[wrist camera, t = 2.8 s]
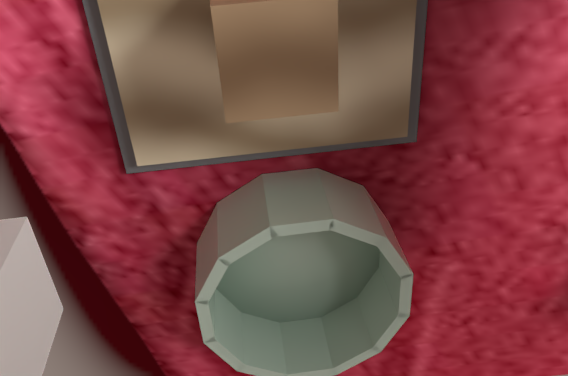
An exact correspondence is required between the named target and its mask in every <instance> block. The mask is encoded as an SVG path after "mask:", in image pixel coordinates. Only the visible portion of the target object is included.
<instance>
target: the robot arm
mask: <svg viewBox="0 0 568 376" xmlns="http://www.w3.org/2000/svg"><path fill="white" fill-rule="evenodd" d="M62 312H63V306H62V304H61V301H60V298H59V296H58V293H57V291H56V288H55V286H54V283H53V281H52V278H51V276H50V273H49V271H48V268H47V266H46V263H45V261H44V258H43V256H42V253H41V251H40V248H39V246H38V243H37V241H36V238H35V235H34V233H33V230H32V228H31V225H30V223H29V220H28V218H27V217H20V218H11V219H3V220H0V376H42V375H43V372H44V369H45V365H46V362H47V359H48V356H49V353H50V350H51V347H52V343H53V340H54V337H55V334H56V331H57V328H58V325H59V322H60V318H61V315H62Z"/></svg>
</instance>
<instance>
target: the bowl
mask: <svg viewBox="0 0 568 376" xmlns="http://www.w3.org/2000/svg"><path fill="white" fill-rule="evenodd" d="M413 275H414V274H413V272H412V270H411V268H410V266H409V264H408V262H407V259H406V257H405V255H404V253H403V251H402V249H401V247H400V245H399V243H398V241H397V238H396V236H395V234H394V232H393V230H392V228H391V226H390V224H389V222H388V220H387V219H386V217H385V216H384V214H383V213H382V211H381V210H380V209H379V207H378V206H377V204H376V203H375V202H374V200H373V199H372V197H371V196H370V194H369V193H368V192H367V190H366V189H365V187H364V186H363V185H360V184H357V183H355V182H352V181H350V180H347V179H344V178H342V177H339V176H337V175H334V174H331V173H329V172H326V171H324V170H321V169H318V168H311V169H302V170H293V171H284V172H276V173H267V174H261V175H260V176H258V177H256V178H255V179H253V180H252V181H250V182H249V183H247V184H246V185H244V186H242V187H241V188H239V189H238V190H236V191H235V192H233V193H231V194H230V195H228V196H227V197H225V198H224V199H222V200H221V201H219V202H217V204H216V206H215V208H214V210H213V212H212V214H211V216H210V218H209V220H208V222H207V224H206V226H205V228H204V230H203V232H202V234H201V236H200V238H199V240H198V242H197V257H196V283H195V305H196V309H197V314H198V319H199V324H200V329H201V333H202V338H203V343H204V344H205V345H207V346H208V347H209V348H210V349H211V350H212V351H214V352H215V353H216V354H217V355H218V356H220V357H221V358H222V359H223V360H224V361H226V362H227V363H228V364H229V365H230V366H231V367H233V368H234V369H235V370H236V371H238V372H242V373H247V374H251V375H255V376H334V375H338V374H339V373H341V372H343V371H345V370H347V369H349V368H351V367H353V366H355V365H357V364H359V363H360V362H362V361H364V360H366V359H368V358H370V357H372V356H374V355H376V354H378V353H380V352H381V351H382V350H383V349H384V347H385V346H386V345H387V344H388V342H389V341H390V340H391V339H392V337H393V336H394V335H395V334H396V332H397V331H398V330H399V329H400V327H401V326H402V325H403V324H404V322H405V321H406V320H407V319H408V317H409V316H410V306H411V295H412V284H413Z"/></svg>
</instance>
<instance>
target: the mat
mask: <svg viewBox="0 0 568 376" xmlns="http://www.w3.org/2000/svg"><path fill="white" fill-rule="evenodd" d="M82 2H83V6H84V10H85V14H86V17H87V21H88V25H89V29H90V33H91V37H92V41H93V45H94V49H95V52H96V56H97V60H98V64H99V68H100V72H101V76H102V80H103V84H104V87H105V91H106V95H107V99H108V103H109V107H110V111H111V115H112V119H113V122H114V126H115V130H116V134H117V138H118V142H119V146H120V150H121V154H122V157H123V161H124V165H125V169H126V173H127V174H129V173H138V172H147V171H156V170H165V169H174V168H184V167H193V166H202V165H211V164H220V163H229V162H238V161H247V160H256V159H265V158H274V157H283V156H292V155H301V154H311V153H320V152H329V151H338V150H347V149H356V148H365V147H374V146H383V145H392V144H401V143H410V142H417V130H418V117H419V105H420V92H421V80H422V67H423V55H424V42H425V30H426V18H427V5H428V0H417V5H416V19H415V34H414V48H413V62H412V77H411V91H410V106H409V120H408V134H407V137H400V138H391V139H382V140H373V141H364V142H355V143H346V144H336V145H327V146H318V147H309V148H300V149H291V150H282V151H273V152H263V153H254V154H245V155H236V156H227V157H218V158H209V159H199V160H190V161H181V162H172V163H163V164H154V165H145V166H137V163H136V159H135V154H134V150H133V146H132V142H131V138H130V134H129V130H128V126H127V121H126V117H125V113H124V109H123V105H122V101H121V97H120V93H119V88H118V84H117V80H116V76H115V72H114V68H113V64H112V60H111V55H110V51H109V47H108V43H107V39H106V35H105V31H104V27H103V23H102V18H101V14H100V10H99V6H98V2H97V0H82Z"/></svg>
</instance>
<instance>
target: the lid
mask: <svg viewBox="0 0 568 376" xmlns="http://www.w3.org/2000/svg"><path fill="white" fill-rule="evenodd" d="M97 2H98V6H99V10H100V14H101V18H102V23H103V27H104V31H105V35H106V39H107V43H108V47H109V51H110V55H111V60H112V64H113V68H114V72H115V76H116V80H117V84H118V88H119V93H120V97H121V101H122V105H123V109H124V113H125V117H126V121H127V126H128V130H129V134H130V138H131V142H132V146H133V150H134V154H135V159H136V163H137V166H145V165H154V164H163V163H172V162H181V161H190V160H199V159H209V158H218V157H227V156H236V155H245V154H254V153H263V152H273V151H282V150H291V149H300V148H309V147H318V146H327V145H336V144H346V143H355V142H364V141H373V140H382V139H391V138H400V137H407V134H408V120H409V106H410V91H411V77H412V62H413V48H414V34H415V19H416V5H417V0H97Z"/></svg>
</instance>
